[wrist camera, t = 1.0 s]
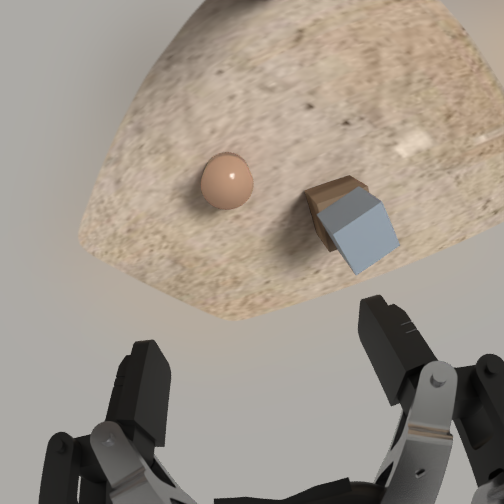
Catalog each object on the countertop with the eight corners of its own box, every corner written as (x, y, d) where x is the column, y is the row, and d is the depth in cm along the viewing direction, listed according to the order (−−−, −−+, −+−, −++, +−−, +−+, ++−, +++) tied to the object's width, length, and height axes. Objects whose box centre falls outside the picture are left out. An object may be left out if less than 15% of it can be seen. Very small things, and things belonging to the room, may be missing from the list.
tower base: (304, 190, 33) (316, 204, 28) (349, 175, 32) (367, 186, 28) (316, 233, 35) (329, 252, 31) (358, 218, 35) (376, 234, 30)
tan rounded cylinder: (200, 157, 30) (195, 165, 25) (244, 148, 30) (248, 154, 25) (209, 199, 32) (207, 214, 28) (252, 190, 32) (257, 204, 28)
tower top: (316, 214, 29) (332, 234, 24) (358, 186, 28) (381, 201, 23) (339, 251, 31) (355, 275, 27) (377, 225, 30) (399, 245, 26)
